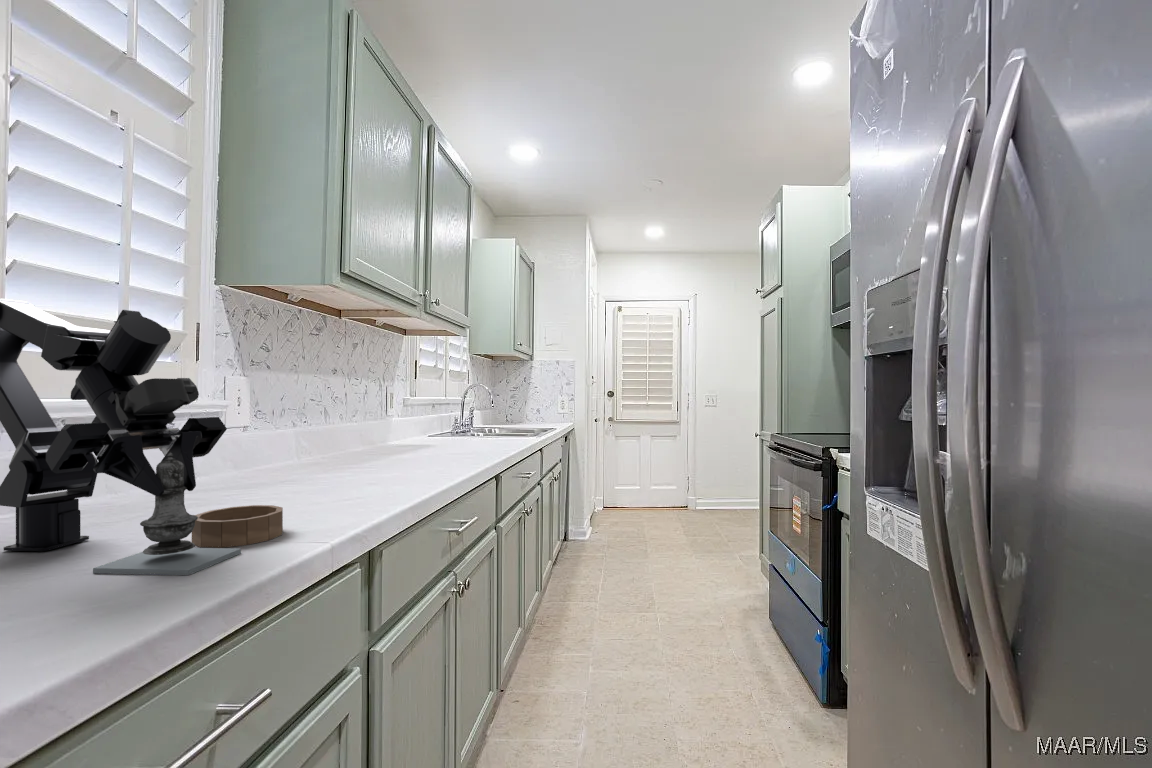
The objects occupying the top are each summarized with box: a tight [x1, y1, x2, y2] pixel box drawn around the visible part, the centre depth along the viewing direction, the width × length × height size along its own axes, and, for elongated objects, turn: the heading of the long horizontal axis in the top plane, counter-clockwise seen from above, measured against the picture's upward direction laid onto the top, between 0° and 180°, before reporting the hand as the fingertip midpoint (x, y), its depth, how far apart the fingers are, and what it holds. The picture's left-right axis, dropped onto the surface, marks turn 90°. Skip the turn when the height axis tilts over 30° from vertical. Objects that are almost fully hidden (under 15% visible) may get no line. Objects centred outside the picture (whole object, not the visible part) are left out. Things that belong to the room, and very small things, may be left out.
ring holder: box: [191, 504, 284, 548], centre depth 84 cm, size 11×11×4 cm
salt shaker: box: [139, 452, 198, 555], centre depth 72 cm, size 6×6×12 cm
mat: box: [92, 547, 242, 576], centre depth 71 cm, size 12×9×1 cm
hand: (177, 491), depth 71 cm, fingers closed on salt shaker, 4 cm apart
